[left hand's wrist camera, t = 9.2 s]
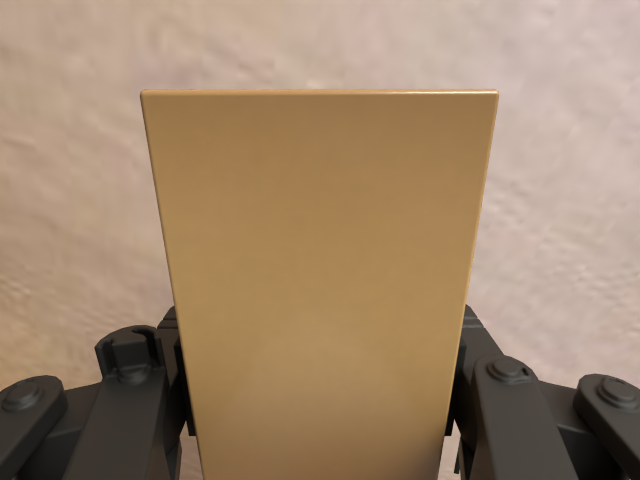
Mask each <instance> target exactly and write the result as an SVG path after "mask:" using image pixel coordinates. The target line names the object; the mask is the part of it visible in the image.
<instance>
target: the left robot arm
mask: <svg viewBox="0 0 640 480" xmlns="http://www.w3.org/2000/svg"><path fill="white" fill-rule="evenodd" d="M94 348H95V351H96V355H97V359H98V363H99V366H100V370H101V374H102V377H103V379H102V381H101V382H99V383H96V384H92V385H88V386H83V387H79V388H74V389H69V390H65V391H64V388H63V385H62V382H61V380H59V379H58V378H57V377H55V376H48V375H44V376H36V377H31V378H28V379H24V380H22V381H19V382H17V383H15V384H13V385H11V386H9V387H7V388H5V389H3V390H2V391H1V392H0V480H179V475H180V465H181V454H182V448H181V442H180V437H179V436H180V434H181V431H182V429H183V426H184V424H185V422H186V421H187V427H188V433H189V436H196V432H195V426H194V420H193V414H192V408H191V402H190V396H189V390H188V384H187V378H186V372H185V366H184V360H183V354H182V348H181V342H180V336H179V330H178V324H177V317H176V311H175V305H174V306H173V307H171V308H170V309H169V311H168V312H167V314H166V315H165V316H164V318H163V320H162V321H161V322H160V324H159V325H158V326H157V329H156V328H155V327H151V326H147V325H135V326H130V327H126V328H122V329H119V330H117V331H114V332H112V333H110V334H108V335H107V336H105V337H104V338H103V339H101V340H100V341H99V342H98V344H97V345H96V346H95V347H94ZM454 419H455V421H456V424H457V426H458V429H459V431H460V434H461V437H460V442H459V447H458V452H457V458H456V463H455V469H454V473H456V474H459V470H460V474H461V480H630V479H631V480H640V389H638V388H637V387H635V386H633V385H631V384H629V383H627V382H625V381H623V380H621V379H618V378H615V377H611V376H608V375H601V374H589V375H585V376H583V377H582V378H581V379H580V380H579V383H578V386H577V389H573V388H569V387H564V386H560V385H555V384H550V383H547V382H543V381H540V380H538V378H537V376H536V375H535V374H534V372H533V371H532V369H530V368H529V367H528V366H527V365H525V364H524V363H523V362H521V361H519V360H516V359H514V358H512V357H509V356H505V355H504V354H503V353H502V351H501V350H500V348H499V347H498V346H497V344H496V343H495V341H494V340H493V339H492V337H491V336H490V334H489V333H488V331H487V330H486V329H485V328H483V324H482V323H481V322H480V320H479V319H477V316H476V315H475V313H474V312H473V310H472V309H471V308H470V307H469V306H468V305H465V311H464V317H463V323H462V330H461V336H460V342H459V348H458V355H457V361H456V367H455V373H454V379H453V386H452V392H451V398H450V404H449V410H448V417H447V423H446V429H445V435H444V436H451V434H452V429H453V423H454Z"/></svg>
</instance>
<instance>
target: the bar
mask: <svg viewBox="0 0 640 480" xmlns="http://www.w3.org/2000/svg"><path fill="white" fill-rule="evenodd" d="M140 100H141V106H142V112H143V118H144V124H145V130H146V136H147V142H148V148H149V154H150V160H151V166H152V172H153V179H154V185H155V191H156V197H157V203H158V209H159V215H160V221H161V227H162V233H163V239H164V245H165V251H166V257H167V263H168V269H169V275H170V281H171V287H172V293H173V299H174V305H175V311H176V317H177V324H178V330H179V336H180V342H181V348H182V354H183V360H184V366H185V372H186V378H187V384H188V390H189V396H190V402H191V408H192V414H193V420H194V426H195V432H196V438H197V444H198V450H199V456H200V462H201V469H202V475H203V480H437V479H438V473H439V466H440V460H441V454H442V448H443V442H444V435H445V429H446V423H447V417H448V410H449V404H450V398H451V392H452V386H453V379H454V373H455V367H456V361H457V355H458V348H459V342H460V336H461V330H462V323H463V317H464V311H465V305H466V299H467V292H468V286H469V280H470V274H471V268H472V261H473V255H474V249H475V243H476V236H477V230H478V224H479V218H480V212H481V205H482V199H483V193H484V187H485V181H486V174H487V168H488V162H489V156H490V149H491V143H492V137H493V131H494V125H495V118H496V112H497V106H498V100H499V92H498V91H497V90H495V89H290V90H144V91H142V92H140Z"/></svg>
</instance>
